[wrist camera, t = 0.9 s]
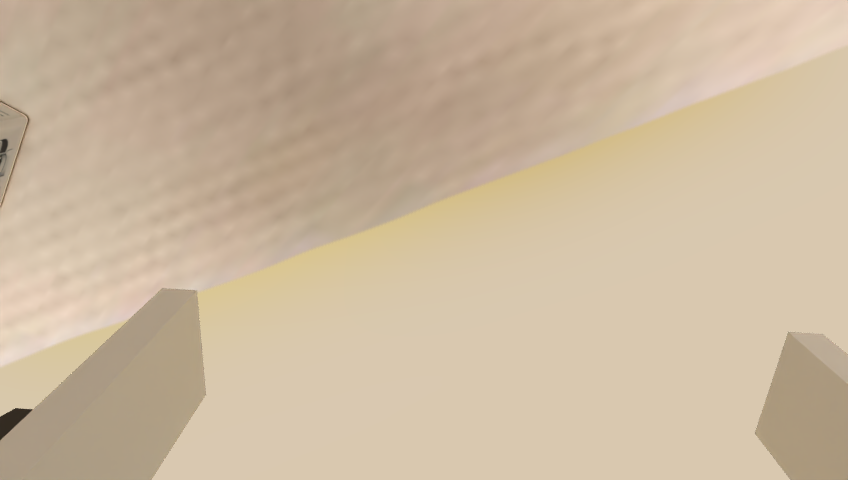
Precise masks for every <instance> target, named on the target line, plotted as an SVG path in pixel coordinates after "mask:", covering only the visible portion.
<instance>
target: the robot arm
mask: <svg viewBox="0 0 848 480" xmlns="http://www.w3.org/2000/svg"><path fill="white" fill-rule="evenodd" d="M205 395H206V391H205V379H204V367H203V357H202V344H201V333H200V321H199V311H198V299H197V291H195V290H180V289H166V288H162V289H161V290H160V291H159V292H158V293H157V294H156V295H155V296H154V297H153V298H152V299H151V300H149V301H148V302H147V303H146V304H145V305H144V306H143V307H142V308H141V309H140V310H139V311H138V312H137V313H136V314H135V315H133V316H132V317H131V318H130V319H129V320H128V321H127V322H126V323H125V324H124V325H123V326H122V327H121V328H120V329H119V330H117V332H116V333H114V334H113V335H112V336H111V337H110V338H109V339H108V340H107V341H106V342H105V343H104V344H103V345H101V346H100V347H99V348H98V349H97V350H96V351H95V352H94V353H93V354H92V355H91V356H90V357H89V358H88V359H87V360H85V361H84V362H83V363H82V364H81V365H80V366H79V367H78V368H77V369H76V370H75V371H74V372H73V373H72V374H71V375H69V377H67V378H66V379H65V380H64V381H63V382H62V383H61V384H60V385H59V386H58V387H57V388H56V389H55V390H53V391H52V392H51V393H50V394H49V395H48V396H47V397H46V398H45V399H44V400H43V401H42V402H41V403H40V404H39V405H37V406H36V407H35V408H34V409H33V410H32V409H18V408H15V409H14V410H12V411H10V412H8V413H6V414H4V415H3V416H1V417H0V480H151V479H152V478H153V476H154V475H155V473H156V472H157V470H158V469H159V467H160V465H161V464H162V462H163V461H164V459H165V458H166V456H167V455H168V453H169V451H170V450H171V448H172V447H173V445H174V444H175V442H176V441H177V439H178V437H179V436H180V434H181V432H182V431H183V429H184V428H185V426H186V425H187V423H188V422H189V420H190V418H191V417H192V415H193V414H194V412H195V411H196V409H197V408H198V406H199V404H200V403H201V401H202V400H203V398H204V397H205ZM755 434H756V436H757V437H758V438H759V439H760V441H761V442H762V443H763V445H764V446H765V447H766V449H767V450H768V451H769V452H770V454H771V455H772V456H773V458H774V459H775V460H776V461H777V463H778V464H779V465H780V467H781V468H782V469H783V470H784V472H785V473H786V474H787V476H788V477H789V478H790V480H848V354H847V353H846V352H844V351H843V350H842V349H841V348H839V347H838V346H837V345H836V344H834V343H833V342H832V341H830V340H829V339H828V338H827V337H826V336H824V335H823V334H811V333H796V332H788V334H787V338H786V340H785V343H784V346H783V350H782V353H781V355H780V358H779V362H778V365H777V368H776V371H775V374H774V377H773V380H772V383H771V386H770V389H769V392H768V395H767V398H766V401H765V404H764V407H763V410H762V413H761V416H760V419H759V422H758V425H757V428H756V431H755Z"/></svg>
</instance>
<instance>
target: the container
mask: <svg viewBox="0 0 848 480" xmlns="http://www.w3.org/2000/svg"><path fill="white" fill-rule="evenodd" d="M27 122H28V119H27V117H26V116H25V115H24V114H22V113H20V112H18V111H17V110H15V109H13V108H11V107H9V106H7V105H5V104H3V103H1V102H0V206H1V202H2V199H3V196H4V193H5V190H6V187H7V184H8V181H9V178H10V175H11V172H12V169H13V165H14V162H15V159H16V156H17V153H18V150H19V147H20V144H21V141H22V138H23V135H24V131H25V128H26V125H27Z"/></svg>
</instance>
